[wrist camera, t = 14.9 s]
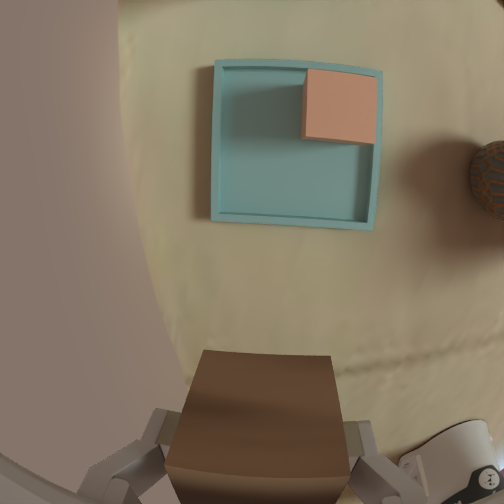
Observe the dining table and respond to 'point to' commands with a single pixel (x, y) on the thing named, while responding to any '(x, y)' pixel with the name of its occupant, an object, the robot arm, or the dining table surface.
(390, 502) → the robot arm
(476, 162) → the vase
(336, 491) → the walnut block
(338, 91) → the terracotta block
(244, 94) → the tray
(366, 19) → the dining table surface
